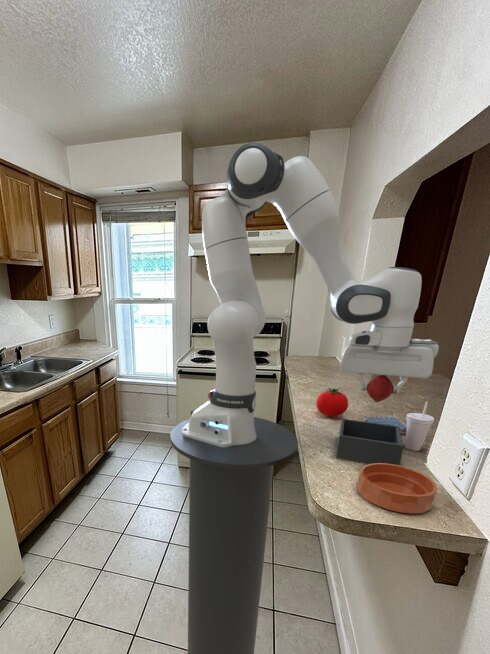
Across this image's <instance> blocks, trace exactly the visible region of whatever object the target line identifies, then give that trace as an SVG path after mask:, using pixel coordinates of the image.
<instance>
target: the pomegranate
mask: <svg viewBox="0 0 490 654" xmlns="http://www.w3.org/2000/svg"><path fill="white" fill-rule="evenodd" d="M367 383H368V386H367V390H366V392H367V394H368V395H369V396H368V397H370V398H371V399H372V400H373V402H375V403H380V402H382V401H384V400H386V399H388V398H389V397H390V396H391V395H392V394H393V393H392V391H393V385H394V384H393V383H392V381H391V379H390V378H389V377H388V376H387V375H377V376H375V377H373V378H372V379H371V380H370V381H369V382H367Z"/></svg>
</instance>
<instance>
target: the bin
mask: <svg viewBox="0 0 490 654" xmlns="http://www.w3.org/2000/svg"><path fill="white" fill-rule="evenodd" d="M404 448H405V443H404V440H403V437H402V433H401V432H400V429H399V426H393V425H386V424H378V423H371V422H365V421H364V420H356V419H350V418H349V419H347V418H341V422H340V427H339V433H338V438H337V446H336V453H335V459H340V460H345V461H351V462H355V463H360V464H361V463H362V464H366V465H368V464H373V463H387V464H394V465H400V466H401V461H402V457H403V454H404V453H403V452H404V450H405V449H404Z"/></svg>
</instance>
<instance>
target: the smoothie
mask: <svg viewBox="0 0 490 654" xmlns="http://www.w3.org/2000/svg"><path fill="white" fill-rule="evenodd" d="M428 404H429V402H428V401H425V403H424V406H423V410H422V413H420V412H409V413H407V414H406V417H405V418H406V426H407V429H406V434H405V443H404V448H405V449H407V450H410V451H413V452H414V451H417V452H418V451H419V452H420V451H421V449H422V447H423V445H424V442H425V440H426V437H427V436H428V433H429V431H430V429H431V426H432V424H434V422H435V418H434V416H432V415H430V414H426V411H427V407H428Z"/></svg>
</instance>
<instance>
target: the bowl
mask: <svg viewBox="0 0 490 654" xmlns="http://www.w3.org/2000/svg"><path fill="white" fill-rule="evenodd" d="M356 483H357V484H356V489H357V491H358V493H359V495H360V496H362V497H363V498H364V499H365V500H367V502H370V503H371V504H373V505H375V506H378V507H380V508H383V509H386V510H389V511H393V512H398V513H401V514H402V513H403V514H413V515H414V514H424V513H426V512H428V511H430V510H431V509H432V507H433V505H434V501H435V498H436V495H437V492H438V486H437V483H436V482H435V481H434V480H433V479H431V478H430V477H429V476H428V475H426V474H424V473H423V472H420V471H417V470H415V469H413V468H411V467H407V466H403V465H401V464H400V465H394V464H387V463H373V464H364V465H363V466H362V467H361V468H360V469H359V473H358V479H357V482H356Z"/></svg>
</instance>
